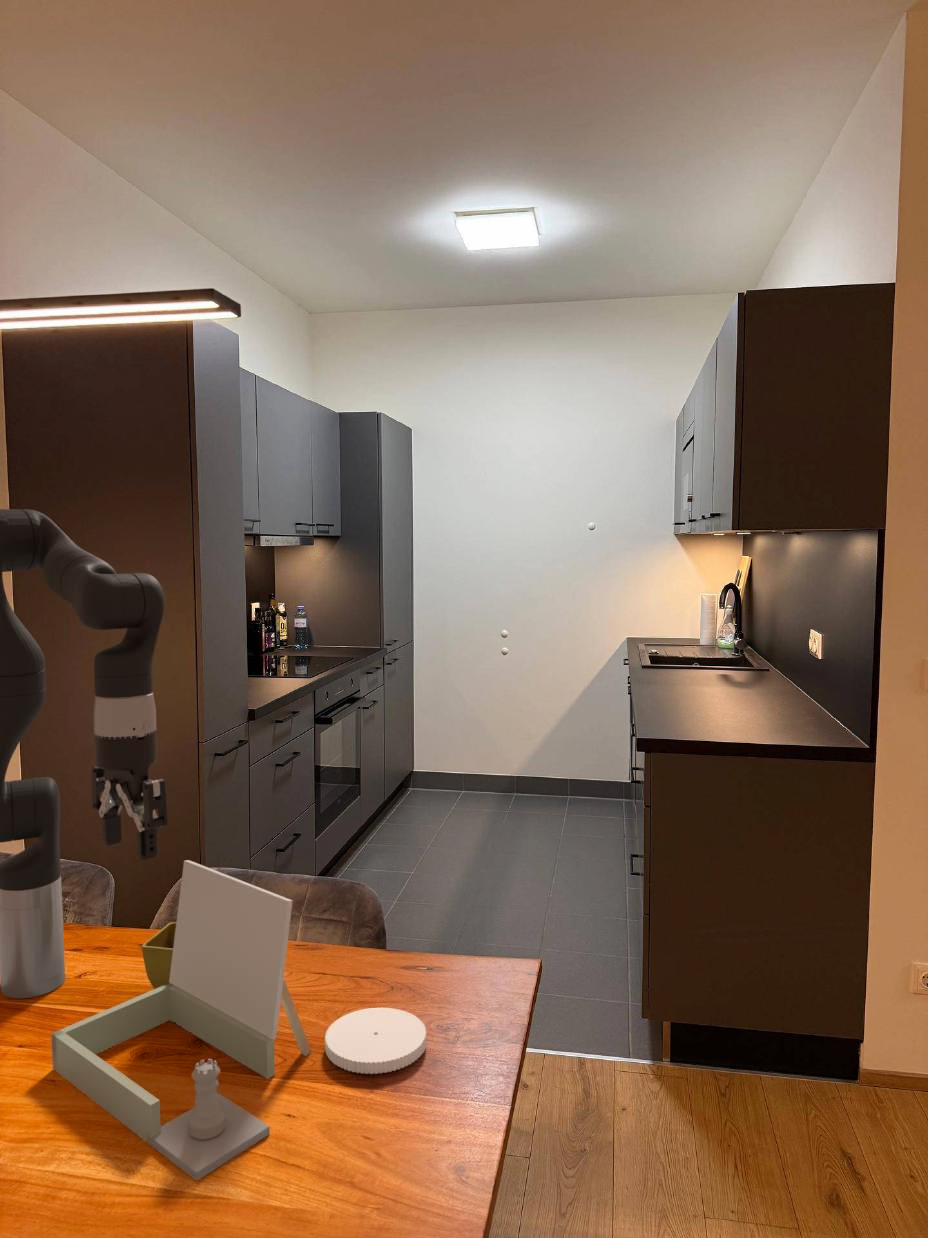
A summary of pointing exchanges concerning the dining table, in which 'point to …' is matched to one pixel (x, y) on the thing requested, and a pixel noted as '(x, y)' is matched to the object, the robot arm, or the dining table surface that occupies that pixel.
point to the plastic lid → (375, 1040)
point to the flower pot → (159, 955)
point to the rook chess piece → (206, 1103)
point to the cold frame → (141, 1015)
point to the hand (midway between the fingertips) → (129, 850)
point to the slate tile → (213, 1152)
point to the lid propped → (231, 946)
